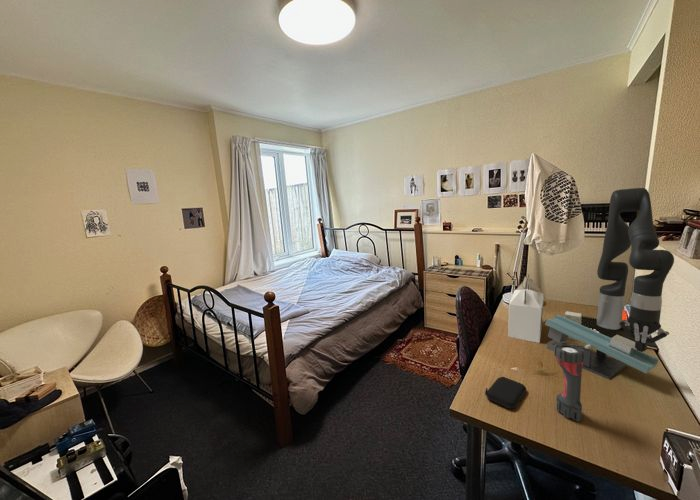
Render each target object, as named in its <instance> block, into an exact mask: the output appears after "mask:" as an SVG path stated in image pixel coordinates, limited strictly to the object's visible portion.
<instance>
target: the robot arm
mask: <svg viewBox="0 0 700 500" xmlns="http://www.w3.org/2000/svg"><path fill="white" fill-rule="evenodd" d="M627 212H629V213H630V212H639V214H638V215H637V216H636V218H635V219H634V220H633V221H632V222H631V224H630V225H628V224H627V223H626V222H625V221H624V219H623V218H622V216H621V213H627ZM653 220H654V219H653V208H652V201H651V196H650V193H649V191H648V189H647V188H644V187H633V188H623V189H617V190H614V191H612V193H611V196H610V200H609V208H608V219H607V223H606V224H607V226H606V229H605V234H604V236H603V237H604V238H603V243H602V244H603V247H602V252H601V256H600V258H599V262H598V266H597V270H596V271H597V272H596V273H597V277H598V278H599V279H600V280H603V281H613V282H612V283H609V284H603V285H601V286H600V287H599V293H598V303H597V304H598V306H597V316H596V325H597V326H598V327H601V328H603V329H607V330H613V331H615V330H616V331H617V330H620V329H621V328H622V329H623V331H624V332H625V333H626V334H627V336H628V337H629V338H631V339H633V340H635V341H634V342H635V349H637V351H640V352H647V350H648V344H654V343H656V342H657V341H658V342H659V340H663V338H666V337H667V336H668V335H670V333H669V331H665V330H664V329H663V328H662V324H660V321H661V314H662V313H661V312H662V305H663V304H662V303H663V298H662V296H663V287H664V283H665V281H666V279H667V276H668V274H669V273H670V271H671V270H672V268H673V266H674V263H675V257H674V255H673V253H672V252H670V251H669V250H667V249H657V248H658V247H659V245H660V239H659V238H658V237H659V236H658V234H657V232H656V229H655V226H654V221H653ZM629 249H631V250H630V254H629V258H628V263H629V265H630V266H631V267H632V268H633V269H635V270H641V271H652V272H651V273H649V274H642V275H638V276H635V277H634V279H633V288H632V294H631V299H630V301H629V302H630V307H629V316H628V317H627V319H626V320H624V319H623V315H624V314H623V311H624V306H625V305H624V303H625V293H626V286H627V285H626V284H627V279H628V274H629V265H628V264H627V263H626V262H624V261H613V260H614V259H617V258H618V257H619V256H621V255H622V254H624V253H625V252H627V251H628V250H629ZM656 332H657V335H656V336H654V337H651V338H650V336H651V335H652V334H653V333H656Z"/></svg>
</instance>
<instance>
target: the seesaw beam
mask: <svg viewBox="0 0 700 500" xmlns="http://www.w3.org/2000/svg"><path fill="white" fill-rule="evenodd" d="M545 325H546V326H547V327H549V331H548V334H547V337H548V338H550V339H552V340H555V341H557V342H559V343H560V342H562V341H565V340H568V338H567V337H568V336H570V337H572V338H574V339H576V340H575V341H579V342H580V343H583V344H585V346H584V348H585V349H589V350H590V348H593V349H596V351H597V350H599V351H601V352H603V353H605V354H607V356H608V357H610V358H613V359H616V360H619V361H621V362H624V363H626V364H627V366H630V367H632V368H634V369H636V370H638V371H641V372H642V373H644V374H648V373H649V372H650V371H651V370H653V369H654V368H655V367H656V366H658V363H659V361H660V359H659V358H657V357H655V356H653V355H650V354H648V353H645V351H643V352H640V351H637V349H636V348H635V350H634V353H633V355H631V356H629V355H626V354H624V353H622V352H620V351H618V350H616V349H614V348H611V347H609V343H610V341H611V338H612V337H610V336H607V335H605V334H603V333H601V332H599V331H596V330H593V329H592V328H590V327H587V326H585V325H582V324H581V325H580V324H578V323H576V322H574V321H571V320H569V319H567V318H565V317H564V316H562V315H561V314H555V317H554V318H549V317H547V319H546V321H545ZM574 339H573V340H574Z"/></svg>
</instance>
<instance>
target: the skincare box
mask: <svg viewBox="0 0 700 500" xmlns="http://www.w3.org/2000/svg"><path fill="white" fill-rule="evenodd" d="M582 316H583V315H582V313H581V312H580V313H579V312H574V311H565V312H564V316H563V317H565V318H567V319H569V320H571V321H574V322H576V323H578V324H580V325H582ZM567 339H569V340H573V341H577V340H576V339H574V338H572V337H570V336H568V337H567Z"/></svg>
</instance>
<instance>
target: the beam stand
mask: <svg viewBox="0 0 700 500" xmlns="http://www.w3.org/2000/svg"><path fill="white" fill-rule="evenodd" d="M562 342H566V344H571V343H570V342H567V341H565V340H564V341H562ZM555 344H560V343H559V342H557V341H555V340H553V339H552V340H550V341H548V342H547V343H546V349H548V350H550V351H553V352H554V348H555ZM579 348H580V349H583V350H584V362H583V369H582V370H585V371H588V372H590V373H593V374H595V375H598V376H600V377H602V378H604V379H607V380H610V379H611V378H612V377H614V376H615V375H617V374H618V373H619V372H621V371H622V370H624V369H625V368H626V367H628V364H626V363H624V362H622V361H620V360H617V359H615V358H613V357H611V356H609V355H607V354H605V353H603V352H601V351H599V350H597V349H596V351H594V350H591V349H590V348H589V349H585V347H583V346H580V345H579Z"/></svg>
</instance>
